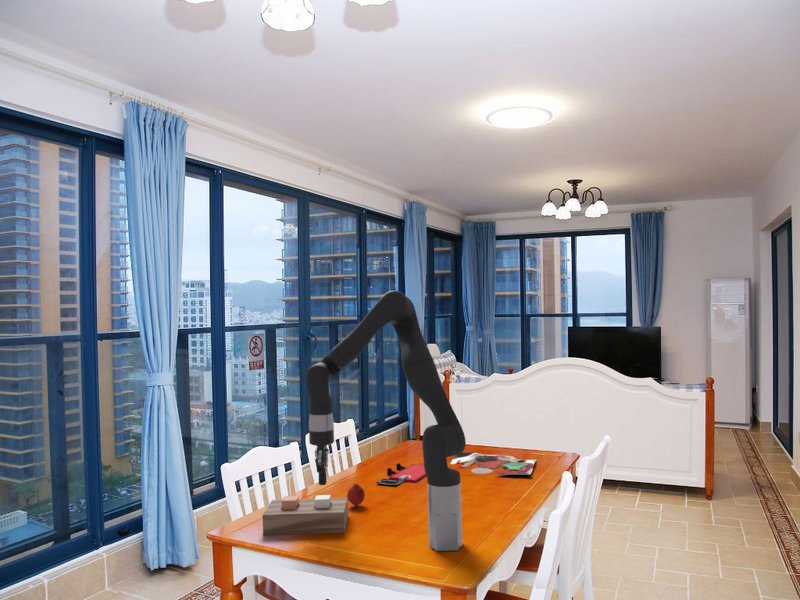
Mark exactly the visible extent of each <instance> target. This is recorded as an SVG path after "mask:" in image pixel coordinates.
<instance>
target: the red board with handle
mask: <svg viewBox="0 0 800 600" xmlns="http://www.w3.org/2000/svg"><path fill="white" fill-rule="evenodd" d="M395 468H396V471H395V470H393V469H392V467H388V468H387V469H386V471H387V472H386V475H387V476H388V478H381V479H380V480H378V481H376V482H375V484H380V485H381V484H382V485H390V486H398V485H400V484H401V483H413V484H414V483H418V482H419V481H420V480H423V478H425V477H427V476H426V473H425V469H424V464H415V463H413V464H411V465H409V466H407V467H406V466H404V465H401V463H400V462H398V463H396V467H395Z"/></svg>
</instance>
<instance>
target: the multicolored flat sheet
mask: <svg viewBox="0 0 800 600" xmlns="http://www.w3.org/2000/svg"><path fill="white" fill-rule="evenodd" d="M536 462H537V459H521V458H519V457H517V456H513V455H505V454H486V453H480V452H475V451H473V452H472V451H471V452H470V451H467V452H462V453H461V454H458V455H455V457H453V459H452V460H451V462H450V465H460V466H458V469H463V470H464V469H468V468H470V467H472V466H473V465H475V464H476V465H475V466H477V467H475V468H472V469H471V470H469V472H470V473H471V474H472V475H471V474H469V476H472V477H474V475H473V474H475V475H491V474H493V475H496V476H495V478H497V477H504V476H509V475H510V476H511V475H519V476H521V475H524V476H525V475H527V476H530V475H531V474H532V473H533V469H534V467H535V463H536ZM499 468H502V470H496V469H499Z"/></svg>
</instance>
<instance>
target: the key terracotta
mask: <svg viewBox="0 0 800 600" xmlns="http://www.w3.org/2000/svg"><path fill="white" fill-rule="evenodd" d="M299 499H300V498H299V495H290V496H289V495H287V496H285V495H283V498H282V499H281V500H282V509H298V507H299Z"/></svg>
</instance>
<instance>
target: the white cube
mask: <svg viewBox="0 0 800 600" xmlns="http://www.w3.org/2000/svg"><path fill="white" fill-rule="evenodd" d="M331 495H332V494H322V495H321V494H318V495H315V498H314V499H315V508H331V498H332V497H331Z"/></svg>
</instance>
